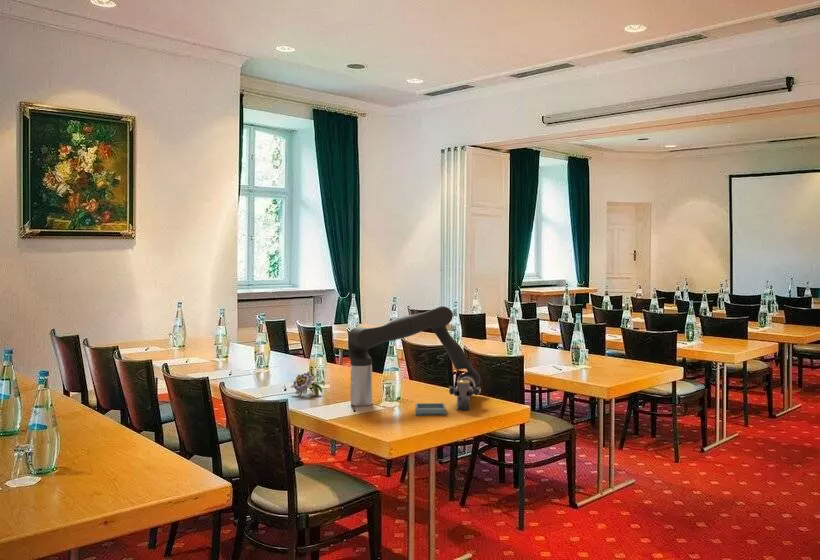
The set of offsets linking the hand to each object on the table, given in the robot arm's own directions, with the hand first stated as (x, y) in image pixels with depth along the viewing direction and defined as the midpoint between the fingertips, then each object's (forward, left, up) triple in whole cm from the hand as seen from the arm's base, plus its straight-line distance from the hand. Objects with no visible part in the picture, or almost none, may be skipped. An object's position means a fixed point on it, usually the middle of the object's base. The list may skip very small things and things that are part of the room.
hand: (462, 393), depth 298 cm
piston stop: (0, +3, -7) cm, 7 cm away
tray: (-14, -2, -7) cm, 16 cm away
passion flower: (-69, +38, -7) cm, 79 cm away
